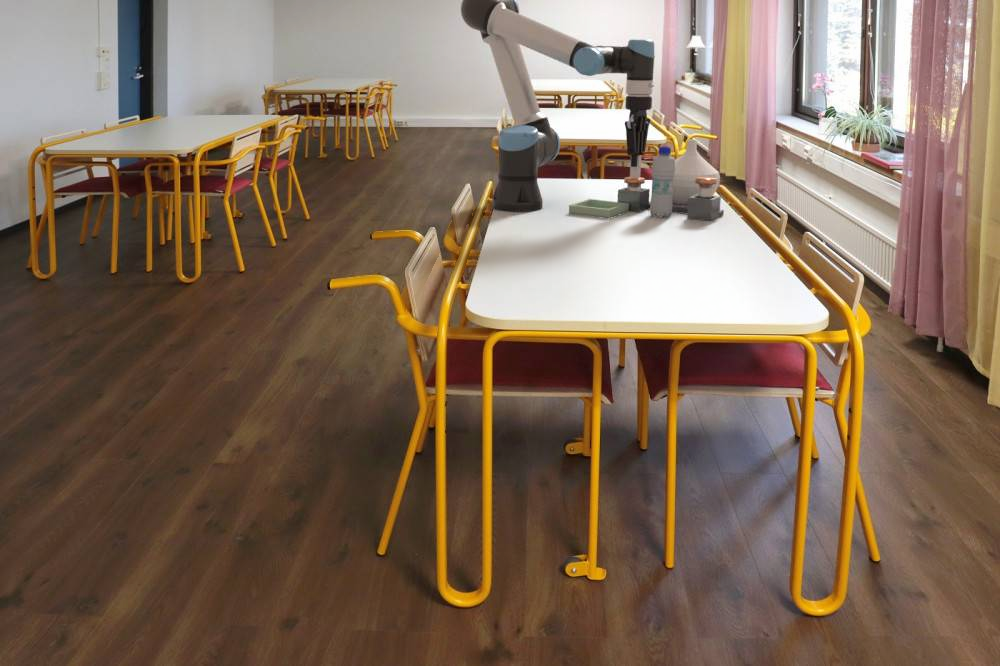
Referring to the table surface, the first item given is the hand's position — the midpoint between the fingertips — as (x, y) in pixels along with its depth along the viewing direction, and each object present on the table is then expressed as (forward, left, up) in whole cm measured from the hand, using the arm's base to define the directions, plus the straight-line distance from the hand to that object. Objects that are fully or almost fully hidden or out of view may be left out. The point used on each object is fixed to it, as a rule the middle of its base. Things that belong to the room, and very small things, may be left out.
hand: (635, 177), depth 287 cm
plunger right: (+22, 0, -7) cm, 23 cm away
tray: (-6, -11, -10) cm, 15 cm away
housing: (+11, +2, -10) cm, 15 cm away
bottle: (+11, -5, -10) cm, 15 cm away
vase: (+9, +21, -10) cm, 25 cm away
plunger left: (0, 0, -9) cm, 9 cm away
